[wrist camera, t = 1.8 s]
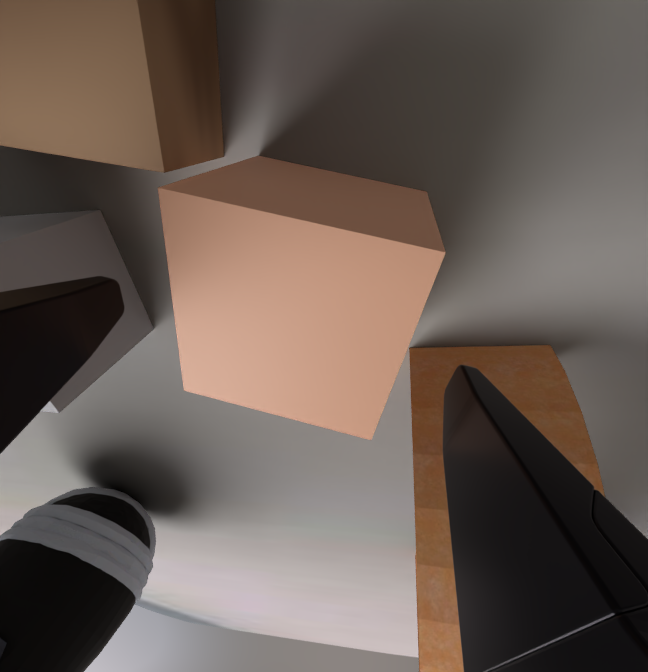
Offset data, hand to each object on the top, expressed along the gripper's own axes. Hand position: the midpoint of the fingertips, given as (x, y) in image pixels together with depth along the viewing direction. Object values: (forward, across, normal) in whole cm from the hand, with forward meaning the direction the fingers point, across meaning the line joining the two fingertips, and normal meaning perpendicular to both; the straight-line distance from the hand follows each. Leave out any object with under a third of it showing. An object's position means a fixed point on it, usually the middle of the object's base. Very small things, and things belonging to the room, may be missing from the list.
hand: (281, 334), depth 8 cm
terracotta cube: (+6, 0, 0) cm, 6 cm away
